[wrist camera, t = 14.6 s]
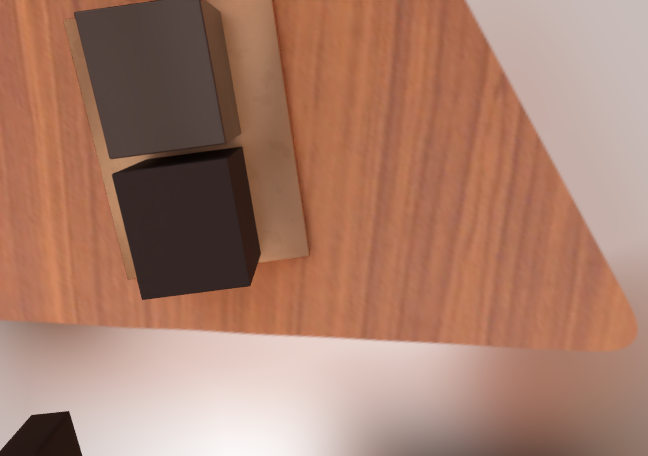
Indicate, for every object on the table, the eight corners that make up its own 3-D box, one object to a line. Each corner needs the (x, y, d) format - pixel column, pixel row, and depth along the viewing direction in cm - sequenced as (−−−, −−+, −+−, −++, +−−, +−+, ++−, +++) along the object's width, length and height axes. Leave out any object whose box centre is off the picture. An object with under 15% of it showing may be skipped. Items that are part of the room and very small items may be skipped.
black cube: (242, 146, 31) (227, 158, 26) (261, 254, 33) (250, 286, 28) (145, 159, 31) (110, 173, 26) (169, 266, 33) (141, 300, 28)
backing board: (272, -6, 30) (260, -32, 24) (309, 250, 34) (308, 289, 28) (72, 22, 30) (6, 4, 24) (133, 273, 35) (92, 316, 28)
